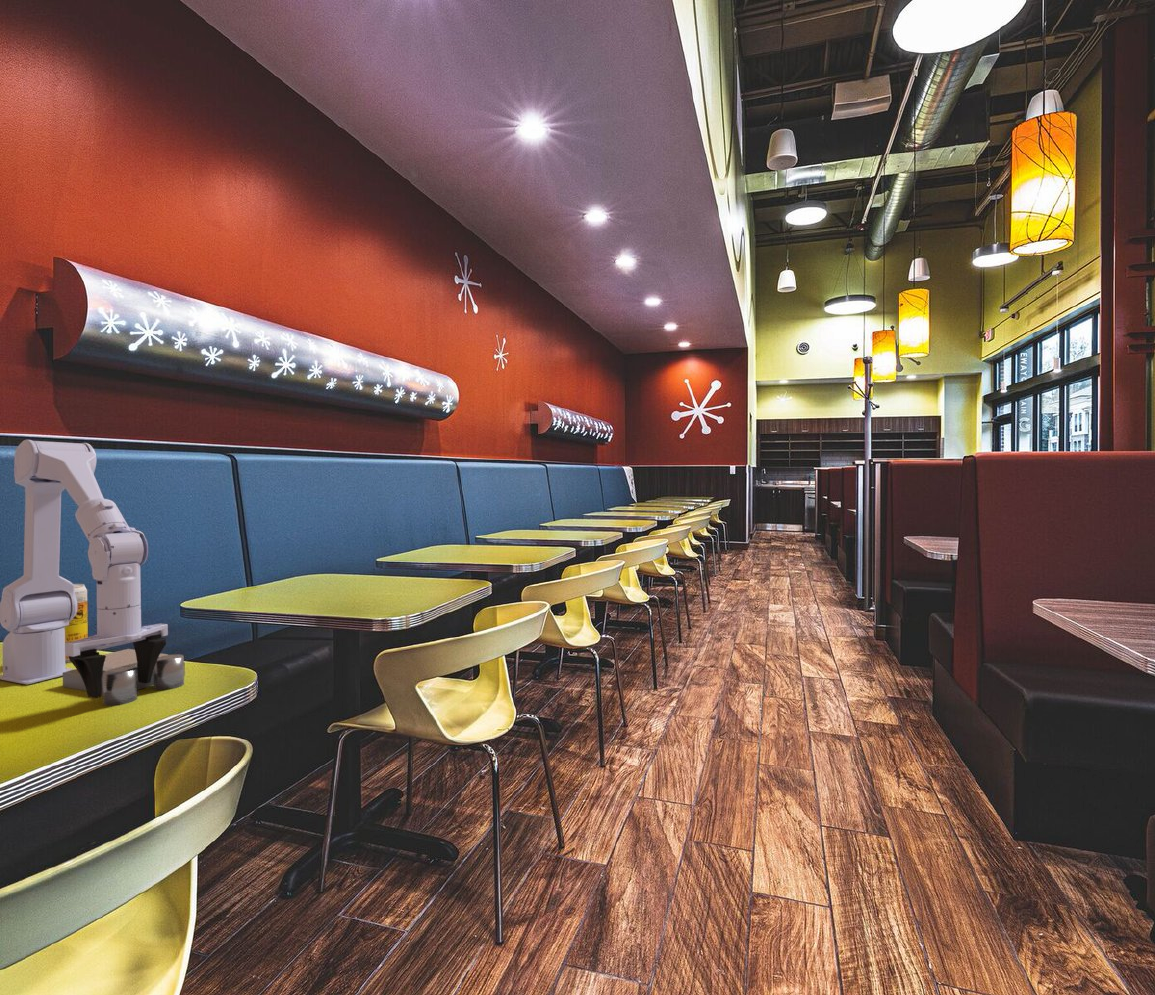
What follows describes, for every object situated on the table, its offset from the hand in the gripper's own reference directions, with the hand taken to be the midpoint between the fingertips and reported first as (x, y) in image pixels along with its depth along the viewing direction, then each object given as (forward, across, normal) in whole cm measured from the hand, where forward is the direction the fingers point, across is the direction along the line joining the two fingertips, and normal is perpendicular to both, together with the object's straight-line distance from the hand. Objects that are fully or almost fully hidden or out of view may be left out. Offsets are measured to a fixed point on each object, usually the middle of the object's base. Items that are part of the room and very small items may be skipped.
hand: (120, 689), depth 99 cm
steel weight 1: (+2, 0, 0) cm, 2 cm away
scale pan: (-2, +7, +11) cm, 13 cm away
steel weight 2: (+2, +8, 0) cm, 8 cm away
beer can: (+2, +12, +36) cm, 38 cm away
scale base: (+2, +7, +10) cm, 12 cm away
